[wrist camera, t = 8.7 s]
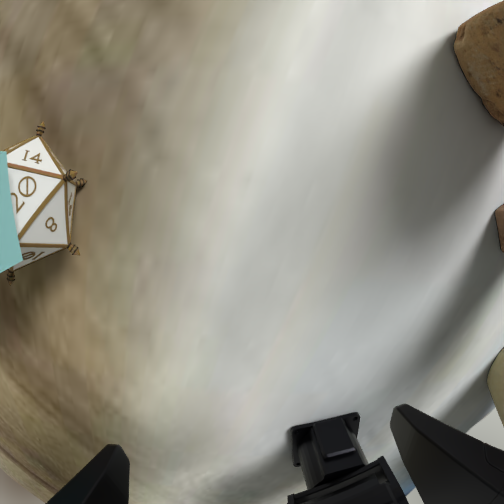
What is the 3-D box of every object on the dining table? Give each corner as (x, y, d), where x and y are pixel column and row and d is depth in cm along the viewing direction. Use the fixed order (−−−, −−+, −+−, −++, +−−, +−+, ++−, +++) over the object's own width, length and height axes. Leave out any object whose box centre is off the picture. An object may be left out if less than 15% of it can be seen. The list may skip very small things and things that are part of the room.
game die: (71, 167, 21) (37, 69, 12) (126, 242, 20) (96, 144, 11) (-13, 235, 17) (-80, 161, 8) (31, 323, 16) (-61, 277, 7)
